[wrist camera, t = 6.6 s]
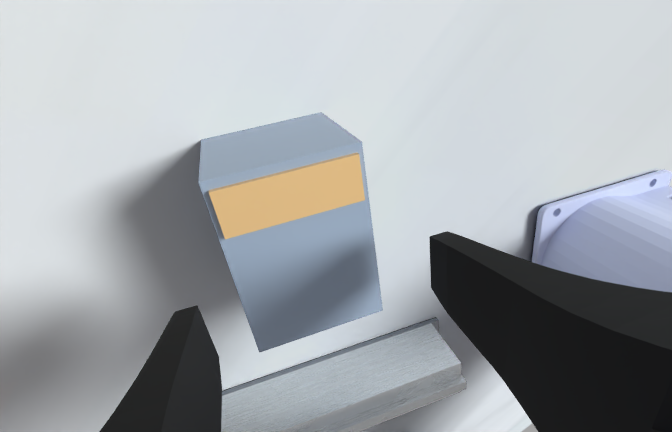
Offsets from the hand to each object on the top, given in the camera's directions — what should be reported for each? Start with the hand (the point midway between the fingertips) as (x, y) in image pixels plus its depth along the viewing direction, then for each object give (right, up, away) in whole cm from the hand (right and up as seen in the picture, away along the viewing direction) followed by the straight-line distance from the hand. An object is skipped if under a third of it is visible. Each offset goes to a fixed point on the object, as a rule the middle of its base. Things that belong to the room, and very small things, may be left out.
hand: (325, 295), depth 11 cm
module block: (-2, +3, +6) cm, 7 cm away
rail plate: (0, -8, +12) cm, 15 cm away
